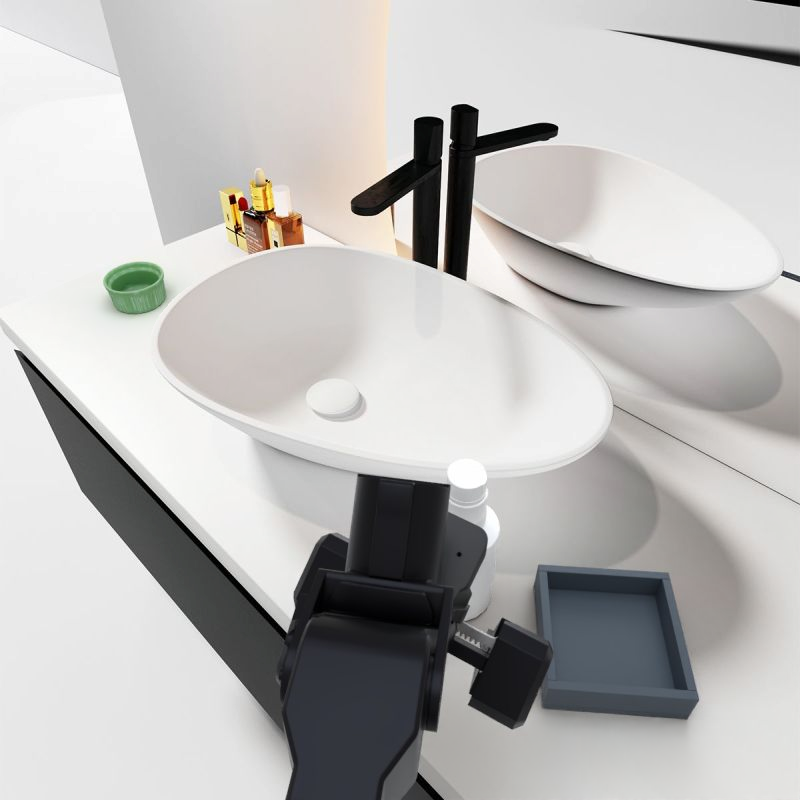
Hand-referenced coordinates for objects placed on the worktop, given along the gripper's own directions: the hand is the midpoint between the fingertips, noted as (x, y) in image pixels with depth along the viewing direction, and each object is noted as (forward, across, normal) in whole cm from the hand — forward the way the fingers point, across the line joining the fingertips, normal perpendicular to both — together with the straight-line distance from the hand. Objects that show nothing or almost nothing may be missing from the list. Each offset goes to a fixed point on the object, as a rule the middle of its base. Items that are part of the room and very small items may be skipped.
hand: (438, 609), depth 59 cm
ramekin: (+34, +66, -14) cm, 76 cm away
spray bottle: (+12, 0, 0) cm, 12 cm away
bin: (+12, -14, -2) cm, 19 cm away
